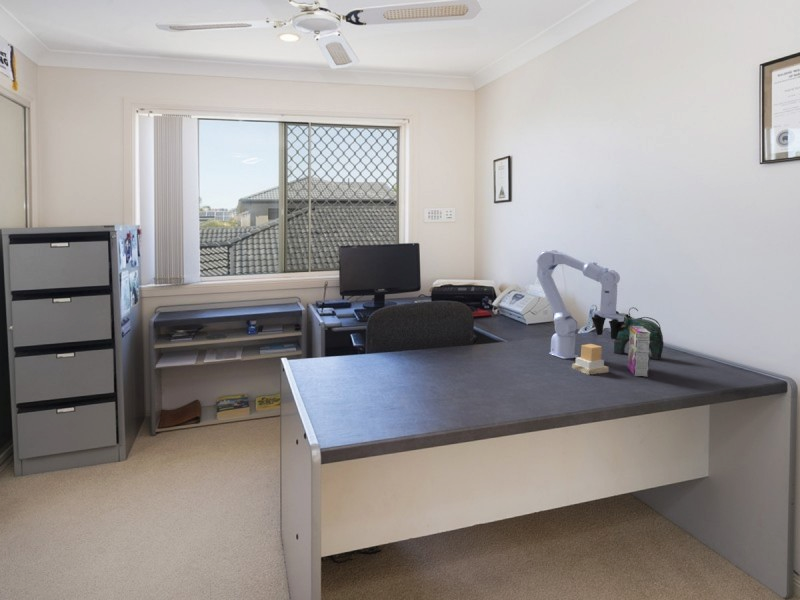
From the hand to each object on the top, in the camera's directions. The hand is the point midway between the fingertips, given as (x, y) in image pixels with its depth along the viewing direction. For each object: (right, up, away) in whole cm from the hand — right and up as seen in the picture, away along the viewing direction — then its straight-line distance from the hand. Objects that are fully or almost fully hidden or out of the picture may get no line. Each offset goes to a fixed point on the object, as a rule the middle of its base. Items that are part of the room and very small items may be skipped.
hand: (606, 336), depth 203 cm
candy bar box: (+6, -13, -12) cm, 18 cm away
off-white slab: (-10, -10, -9) cm, 17 cm away
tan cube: (-10, -8, -10) cm, 16 cm away
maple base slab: (-10, -13, -9) cm, 18 cm away
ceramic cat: (+17, -9, +13) cm, 23 cm away
